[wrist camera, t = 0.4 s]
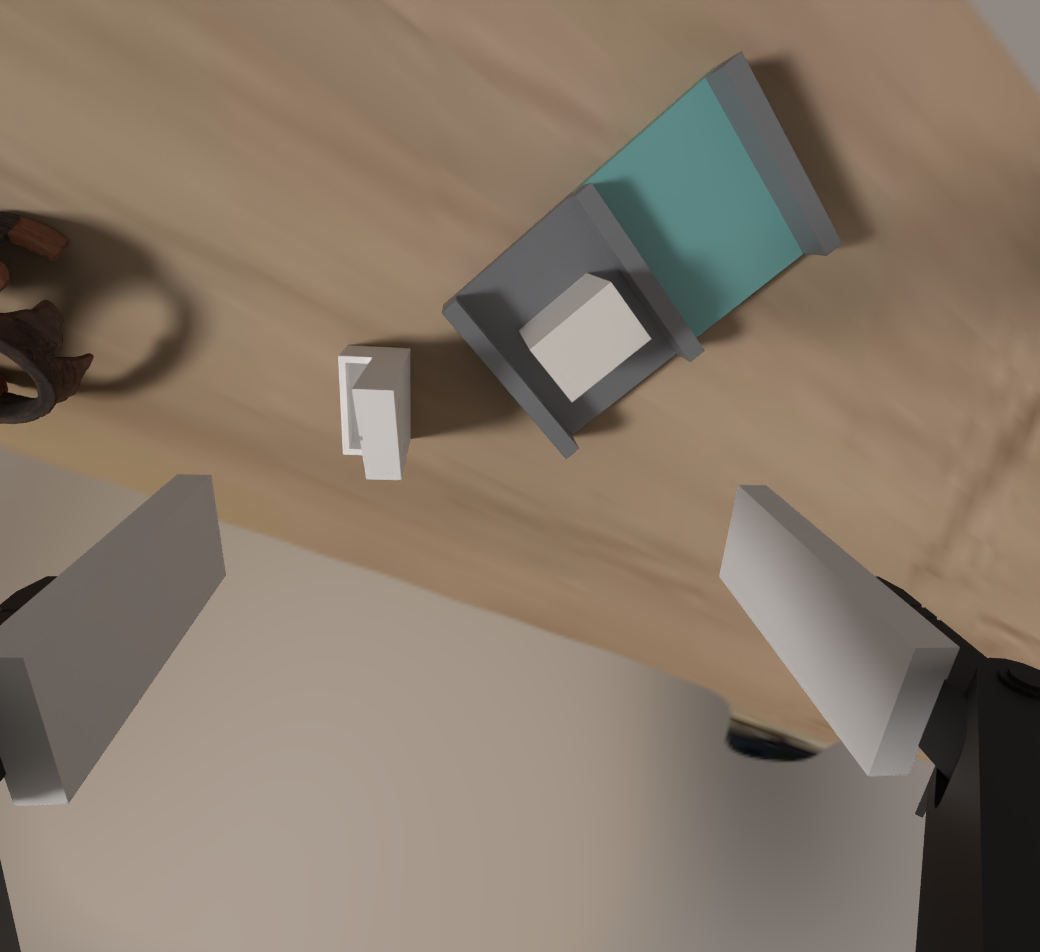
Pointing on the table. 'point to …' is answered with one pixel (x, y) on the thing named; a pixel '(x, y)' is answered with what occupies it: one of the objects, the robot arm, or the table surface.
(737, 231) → the two-compartment cubby shelf
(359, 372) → the white wedge bracket
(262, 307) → the table surface
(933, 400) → the table surface
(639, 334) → the white rectangular block
